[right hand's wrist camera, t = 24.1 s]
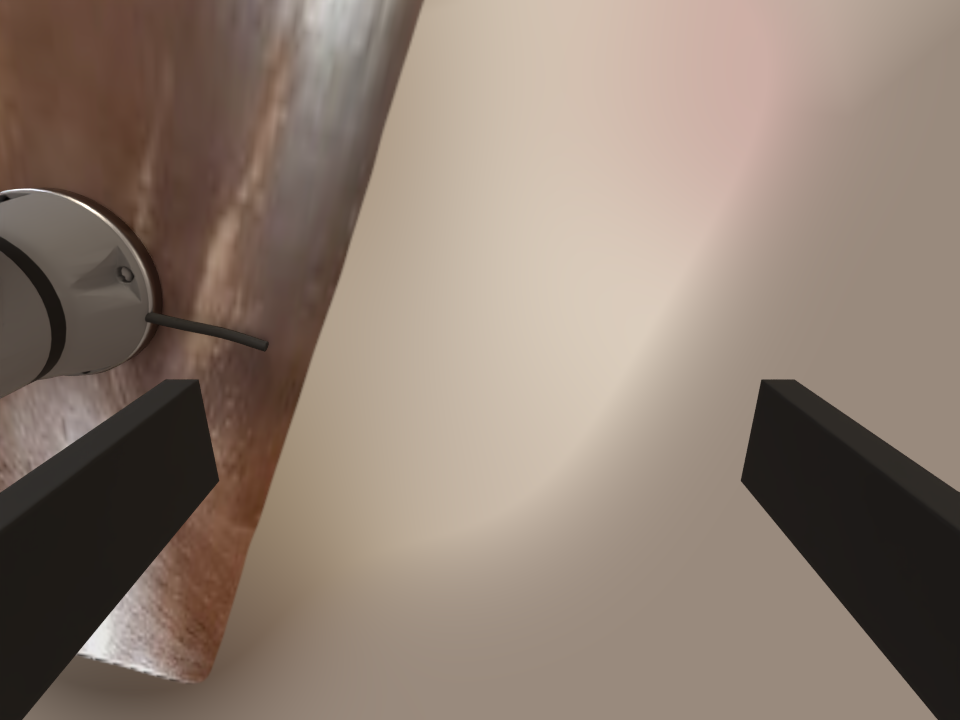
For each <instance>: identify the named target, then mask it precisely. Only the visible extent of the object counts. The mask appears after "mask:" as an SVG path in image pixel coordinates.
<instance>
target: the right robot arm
mask: <svg viewBox="0 0 960 720" xmlns="http://www.w3.org/2000/svg"><path fill="white" fill-rule="evenodd" d="M161 312H162V291H161V285H160V281H159V277H158V274H157V271H156V268H155V266H154V263H153V261H152V259H151V257H150V255H149V253H148V252H147V250H146V248H145V247H144V245H143V244H142V242H141V241H140V240H139V238H138V237H137V236H136V235H135V233H134V232H133V231H132V230H131V229H130V228H129V227H128V226H127V225H126V224H125V223H124V222H123V221H122V220H121V219H120V218H119V217H117V216H116V215H115V214H113V213H112V212H111V211H109V210H108V209H106V208H105V207H103V206H102V205H100V204H98V203H97V202H95V201H93V200H91V199H89V198H86V197H84V196H82V195H79V194H76V193H73V192H69V191H65V190H60V189H54V188H28V189H13V190H7V191H3V192H0V398H2V397H4V396H6V395H8V394H10V393H12V392H14V391H16V390H18V389H20V388H22V387H24V386H26V385H28V384H30V383H32V382H34V381H36V380H41V379H48V378H53V377H57V376H80V375H91V374H97V373H101V372H104V371H107V370H110V369H112V368H114V367H116V366H118V365H120V364H122V363H124V362H125V361H127V360H129V359H131V358H132V357H134V356H136V355H137V354H138V353H139V352H141V351H142V350H143V349H144V348H145V347H146V346H147V345H148V343H149V342H150V341H151V339H152V338H153V336H154V334H155V332H156V330H157V328H158V325H162V326H167V327H171V328H176V329H180V330H185V331H190V332H195V333H200V334H205V335H210V336H215V337H219V338H223V339H227V340H230V341H234V342H237V343H240V344H243V345H246V346H249V347H252V348H255V349H258V350H262V351H266V350H267V348H268V342H267V341H264V340H261V339H258V338H255V337H252V336H249V335H246V334H242V333H239V332H236V331H232V330H229V329H225V328H221V327H217V326H213V325H208V324H203V323H198V322H193V321H188V320H184V319H179V318H175V317H170V316H166V315H162V314H161ZM218 482H219V477H218V473H217V468H216V463H215V458H214V453H213V448H212V443H211V438H210V433H209V429H208V424H207V419H206V414H205V409H204V404H203V399H202V394H201V389H200V384H199V380H164V381H163V382H161V383H160V384H158V385H157V386H156V387H154V388H153V389H151V390H150V391H148V392H147V393H145V394H144V395H142V396H141V397H139V398H138V399H137V400H135V401H134V402H132V403H131V404H129V405H128V406H126V407H125V408H123V409H122V410H120V411H119V412H118V413H116V414H115V415H113V416H112V417H110V418H109V419H107V420H106V421H104V422H103V423H101V424H100V425H99V426H97V427H96V428H94V429H93V430H91V431H90V432H88V433H87V434H85V435H84V436H82V437H81V438H80V439H78V440H77V441H75V442H74V443H72V444H71V445H69V446H68V447H66V448H65V449H63V450H62V451H61V452H59V453H58V454H56V455H55V456H53V457H52V458H50V459H49V460H47V461H46V462H44V463H43V464H42V465H40V466H39V467H37V468H36V469H34V470H33V471H31V472H30V473H28V474H27V475H26V476H24V477H23V478H21V479H20V480H18V481H17V482H15V483H14V484H12V485H11V486H9V487H8V488H7V489H5V490H4V491H2V492H1V493H0V720H22V719H23V718H24V717H25V716H26V714H27V713H28V712H29V711H30V710H31V708H32V707H33V706H34V705H35V703H36V702H37V701H38V700H39V699H40V697H41V696H42V695H43V694H44V693H45V691H46V690H47V689H48V688H49V687H50V685H51V684H52V683H53V682H54V681H55V679H56V678H57V677H58V676H59V674H60V673H61V672H62V671H63V670H64V668H65V667H66V666H67V665H68V664H69V662H70V661H71V660H72V659H73V657H74V656H75V655H76V654H77V653H78V651H79V650H80V649H81V648H82V647H83V645H84V644H85V643H86V642H87V640H88V639H89V638H90V637H91V636H92V634H93V633H94V632H95V631H96V630H97V628H98V627H99V626H100V625H101V624H102V622H103V621H104V620H105V619H106V617H107V616H108V615H109V614H110V613H111V611H112V610H113V609H114V608H115V607H116V605H117V604H118V603H119V602H120V600H121V599H122V598H123V597H124V596H125V594H126V593H127V592H128V591H129V590H130V588H131V587H132V586H133V585H134V583H135V582H136V581H137V580H138V579H139V577H140V576H141V575H142V574H143V573H144V571H145V570H146V569H147V568H148V567H149V565H150V564H151V563H152V562H153V560H154V559H155V558H156V557H157V556H158V554H159V553H160V552H161V551H162V550H163V548H164V547H165V546H166V545H167V543H168V542H169V541H170V540H171V539H172V537H173V536H174V535H175V534H176V533H177V531H178V530H179V529H180V528H181V526H182V525H183V524H184V523H185V522H186V520H187V519H188V518H189V517H190V516H191V514H192V513H193V512H194V511H195V509H196V508H197V507H198V506H199V505H200V503H201V502H202V501H203V500H204V499H205V497H206V496H207V495H208V494H209V493H210V491H211V490H212V489H213V488H214V486H215V485H216V484H217V483H218ZM741 482H742V483H743V484H744V485H745V486H746V488H747V489H748V490H749V491H750V493H751V494H752V495H753V496H754V497H755V499H756V500H757V501H758V502H759V503H760V505H761V506H762V507H763V508H764V509H765V511H766V512H767V513H768V514H769V516H770V517H771V518H772V519H773V520H774V522H775V523H776V524H777V525H778V526H779V528H780V529H781V530H782V531H783V533H784V534H785V535H786V536H787V537H788V539H789V540H790V541H791V542H792V543H793V545H794V546H795V547H796V548H797V550H798V551H799V552H800V553H801V554H802V556H803V557H804V558H805V559H806V560H807V562H808V563H809V564H810V565H811V567H812V568H813V569H814V570H815V571H816V573H817V574H818V575H819V576H820V577H821V579H822V580H823V581H824V582H825V583H826V585H827V586H828V587H829V588H830V590H831V591H832V592H833V593H834V594H835V596H836V597H837V598H838V599H839V600H840V602H841V603H842V604H843V605H844V607H845V608H846V609H847V610H848V611H849V612H850V614H851V615H852V616H853V617H854V619H855V620H856V621H857V622H858V623H859V625H860V626H861V627H862V628H863V630H864V631H865V632H866V633H867V634H868V636H869V637H870V638H871V639H872V640H873V642H874V643H875V644H876V645H877V647H878V648H879V649H880V650H881V651H882V653H883V654H884V655H885V656H886V657H887V659H888V660H889V661H890V662H891V664H892V665H893V666H894V667H895V668H896V670H897V671H898V672H899V673H900V674H901V676H902V677H903V678H904V679H905V680H906V682H907V683H908V684H909V685H910V687H911V688H912V689H913V690H914V691H915V693H916V694H917V695H918V696H919V697H920V699H921V700H922V701H923V702H924V704H925V705H926V706H927V707H928V708H929V710H930V711H931V712H932V713H933V714H934V716H935V717H936V718H937V719H938V720H960V492H958V491H956V490H955V489H953V488H952V487H951V486H949V485H948V484H946V483H945V482H943V481H942V480H940V479H939V478H937V477H936V476H934V475H933V474H932V473H930V472H929V471H927V470H926V469H924V468H923V467H921V466H920V465H918V464H917V463H915V462H914V461H913V460H911V459H910V458H908V457H907V456H905V455H904V454H902V453H901V452H899V451H898V450H897V449H895V448H894V447H892V446H891V445H889V444H888V443H886V442H885V441H883V440H882V439H880V438H879V437H877V436H876V435H875V434H873V433H872V432H870V431H869V430H867V429H866V428H864V427H863V426H861V425H860V424H859V423H857V422H856V421H854V420H853V419H851V418H850V417H848V416H847V415H845V414H844V413H842V412H841V411H839V410H838V409H837V408H835V407H834V406H832V405H831V404H829V403H828V402H826V401H825V400H823V399H822V398H821V397H819V396H817V395H816V394H815V393H813V392H812V391H810V390H809V389H807V388H806V387H804V386H803V385H802V384H800V383H799V382H797V381H796V380H761V384H760V389H759V394H758V399H757V404H756V409H755V414H754V419H753V424H752V429H751V433H750V438H749V443H748V448H747V453H746V458H745V463H744V468H743V473H742V478H741Z"/></svg>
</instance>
